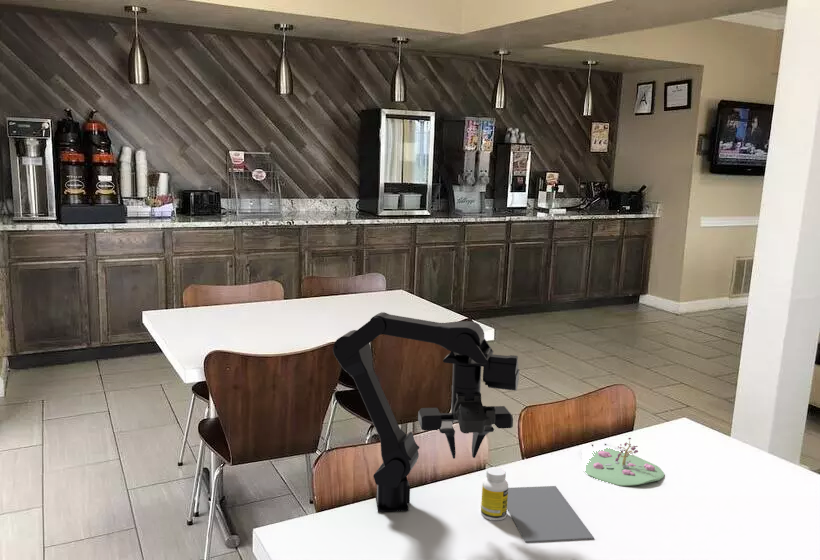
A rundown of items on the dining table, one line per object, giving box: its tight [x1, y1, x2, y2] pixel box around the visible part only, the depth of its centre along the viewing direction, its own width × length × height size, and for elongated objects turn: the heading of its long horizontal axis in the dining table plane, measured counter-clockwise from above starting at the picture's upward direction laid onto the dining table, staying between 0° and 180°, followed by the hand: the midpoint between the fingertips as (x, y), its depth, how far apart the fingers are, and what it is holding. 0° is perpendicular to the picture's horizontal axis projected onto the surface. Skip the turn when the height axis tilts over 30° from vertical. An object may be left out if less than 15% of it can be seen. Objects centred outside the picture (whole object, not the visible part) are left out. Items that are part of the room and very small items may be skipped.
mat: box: [507, 485, 595, 543], centre depth 141 cm, size 14×22×1 cm, turn 7°
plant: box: [584, 437, 665, 487], centre depth 165 cm, size 25×21×9 cm
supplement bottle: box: [480, 466, 509, 521], centre depth 138 cm, size 5×5×10 cm
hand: (463, 457), depth 136 cm, fingers open, 4 cm apart
